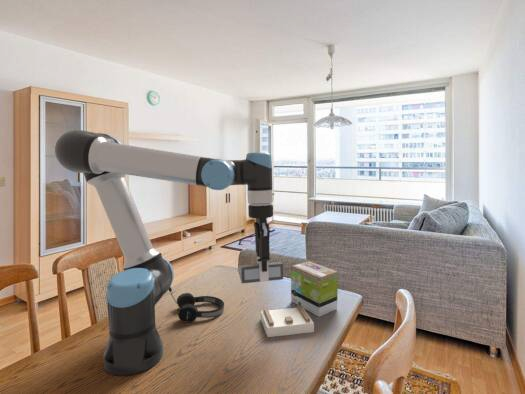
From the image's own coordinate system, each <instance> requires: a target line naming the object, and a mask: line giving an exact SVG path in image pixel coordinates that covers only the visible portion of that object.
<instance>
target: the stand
mask: <svg viewBox="0 0 525 394" xmlns="http://www.w3.org/2000/svg"><path fill="white" fill-rule="evenodd" d="M260 320H261V324H262V326H263V329H264V332H265V334H266V338H273V337H274V338H275V337H281V336H291V335H299V334H309V333H314V332H315V322H314V321H313V319H312V318H311V316H310V315H309V313H308V312H307V310H306V309H304V308H303V307H301V305H297V304H296V307H290V308H279V309H272V310H271V309H268V307H263V310H261V311H260Z"/></svg>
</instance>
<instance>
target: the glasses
mask: <svg viewBox="0 0 525 394" xmlns="http://www.w3.org/2000/svg"><path fill="white" fill-rule="evenodd" d="M237 272H238V275H239V279H240V283H241V284H249V283H250V284H251V283H252V284H253V283H261V282H260V277H259V264H257V263H252V264H241V265H237ZM268 273H269V281H270V282H272V281H281V280H284V263H283V262H282V261H272V262H268ZM269 281H268V282H269Z"/></svg>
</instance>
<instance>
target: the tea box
mask: <svg viewBox="0 0 525 394" xmlns="http://www.w3.org/2000/svg"><path fill="white" fill-rule="evenodd" d="M290 269H291V273H290V275H291V277H290V282H291V283H290V288H291V289H290V299H291V300H290V301H291V303H294V304H295V305H296V306H297V305H301V307H303V308H304V309H305V311H308V312H309V313H311V314H313V315H315V317H316V316H317V318H320V317H322V316H325V315H327V314H330V313H332V312H334V311H336V310H337V309H338V294H339V290H338V288H339V287H338V286H339V272H338V271H337V270H334V269H331V268H330V267H329V268H328V267H327V266H324V265H321V264H318V263H316V262H312V261H310V260H309V261H308V260H307V261H305V262H302V263H297V264H295V265H291V267H290ZM331 311H332V312H331ZM329 312H330V313H329Z"/></svg>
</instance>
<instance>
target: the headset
mask: <svg viewBox="0 0 525 394" xmlns="http://www.w3.org/2000/svg"><path fill="white" fill-rule="evenodd" d="M168 292H170V295H171V297H172V299H173V300H174V302H175V303H176V305H177V306H178V308H179V310H178V313H177V314H178V319H179V320H180V321H181V322H184V323H190V322H191V323H192V322H194V321H195V320H196V319H197V318H202V319H203V318H205V319H209V318H210V319H211V318H215V317H219V316H221V315H222V314H223V312H224V309H225V302H224V301H223V300H222V299H220V298H219V297H215V296H211V295H200V296H194V295H193V294H191V293H189V292H185V293H181V294H180V295H179V296H178V297H177V299H175V298H174V296H173V293H172V287H171V286H170V288H169V290H168ZM196 303H210V304H214V305H217V306H219V307H218V308H216V309H214V310H198V308H197V306H195V305H196Z"/></svg>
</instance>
